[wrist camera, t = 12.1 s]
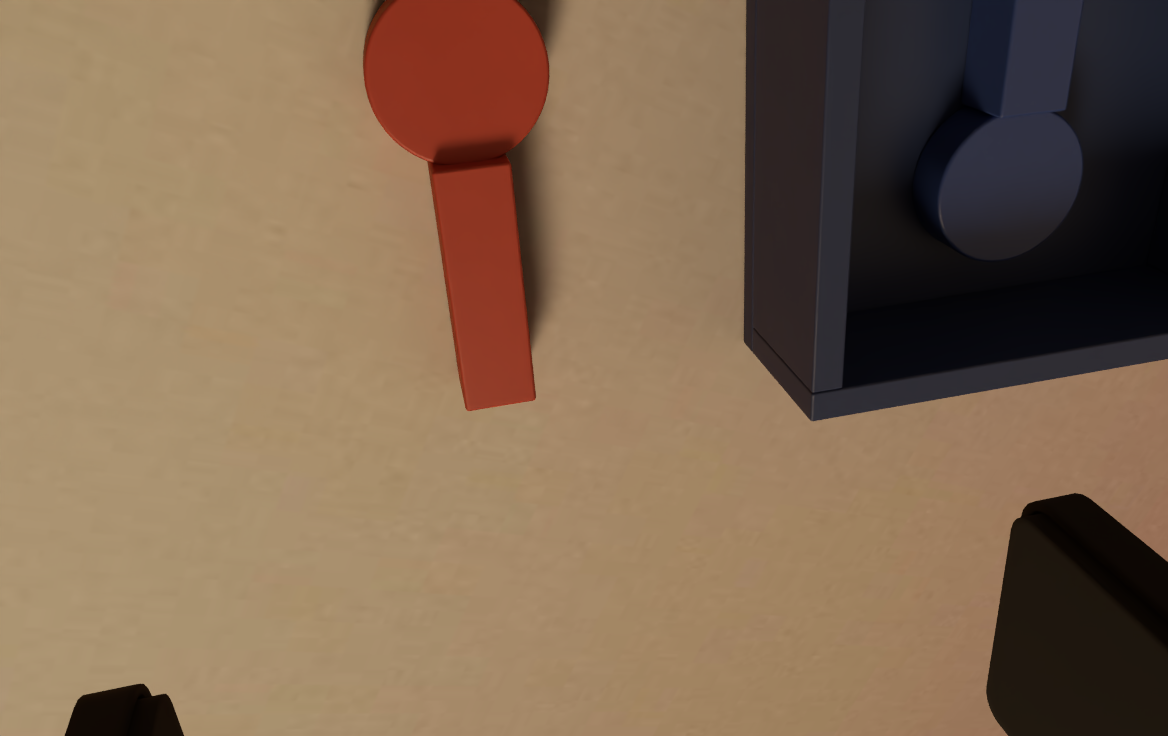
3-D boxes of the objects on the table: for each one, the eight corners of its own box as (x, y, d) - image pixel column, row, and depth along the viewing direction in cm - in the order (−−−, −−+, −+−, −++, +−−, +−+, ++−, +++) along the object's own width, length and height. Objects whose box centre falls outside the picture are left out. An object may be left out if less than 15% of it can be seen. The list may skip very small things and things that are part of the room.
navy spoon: (943, -170, 19) (990, -174, 18) (1105, -182, 20) (1162, -186, 18) (904, 255, 23) (939, 279, 22) (1039, 236, 24) (1082, 257, 23)
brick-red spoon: (566, 363, 23) (580, 393, 22) (417, 387, 23) (421, 420, 22) (531, -38, 19) (545, -31, 18) (348, -21, 19) (347, -13, 17)
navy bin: (747, -303, 18) (845, -348, 14) (1277, -331, 20) (1482, -378, 16) (743, 342, 24) (811, 422, 21) (1147, 277, 26) (1274, 341, 22)
